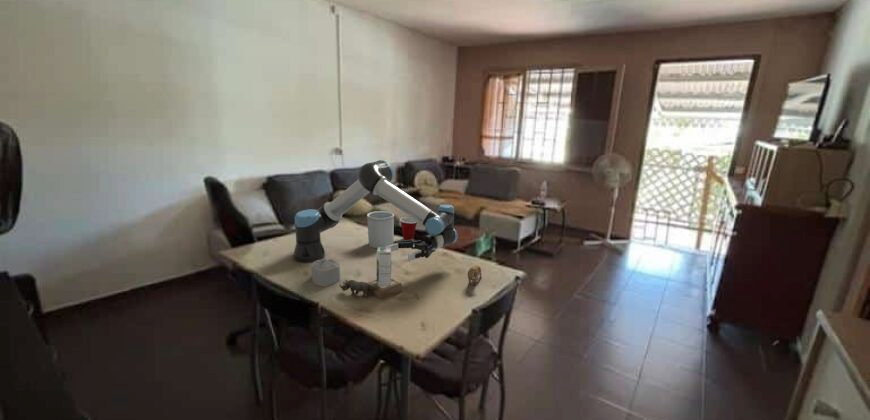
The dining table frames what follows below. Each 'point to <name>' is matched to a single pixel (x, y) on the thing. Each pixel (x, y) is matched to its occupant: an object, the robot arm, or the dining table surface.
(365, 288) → the rhino figurine
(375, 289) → the walnut plinth
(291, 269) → the dining table surface
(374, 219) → the utensil holder
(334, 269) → the lumpy-topped squat cylinder
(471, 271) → the lion figurine
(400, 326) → the dining table surface
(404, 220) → the plastic cup
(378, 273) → the syrup box
